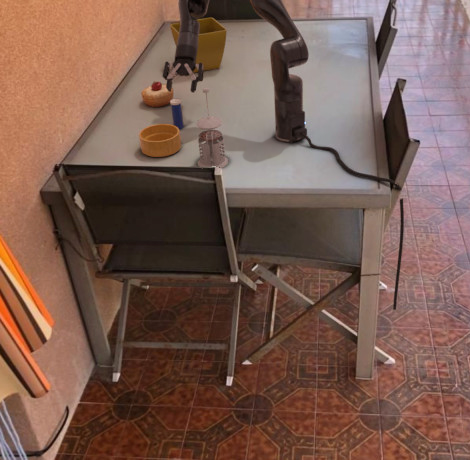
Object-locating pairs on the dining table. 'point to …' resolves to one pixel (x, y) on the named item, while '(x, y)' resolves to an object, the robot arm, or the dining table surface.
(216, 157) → the french press
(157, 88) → the pastry
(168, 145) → the bowl
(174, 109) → the vial
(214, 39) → the flower pot
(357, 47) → the dining table surface
